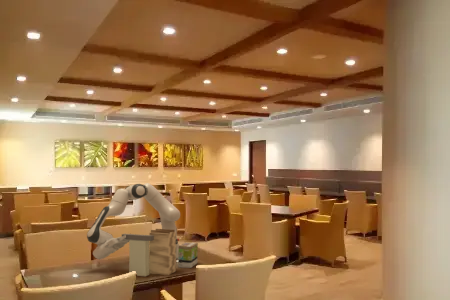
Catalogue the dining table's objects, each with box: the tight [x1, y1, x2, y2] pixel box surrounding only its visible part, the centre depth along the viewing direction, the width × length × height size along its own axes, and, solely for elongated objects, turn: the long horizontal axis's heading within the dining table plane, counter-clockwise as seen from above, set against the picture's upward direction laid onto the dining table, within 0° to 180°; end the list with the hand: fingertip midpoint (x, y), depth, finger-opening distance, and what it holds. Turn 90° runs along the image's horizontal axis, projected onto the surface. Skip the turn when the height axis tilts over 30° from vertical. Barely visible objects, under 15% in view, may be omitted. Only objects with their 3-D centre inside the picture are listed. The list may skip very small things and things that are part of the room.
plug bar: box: [121, 233, 154, 241], centre depth 262 cm, size 3×22×3 cm, turn 68°
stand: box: [148, 228, 177, 276], centre depth 267 cm, size 10×14×28 cm
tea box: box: [177, 241, 199, 269], centre depth 285 cm, size 15×10×15 cm, turn 168°
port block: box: [128, 240, 150, 277], centre depth 260 cm, size 4×12×22 cm, turn 68°
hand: (128, 235), depth 264 cm, fingers open, 4 cm apart
